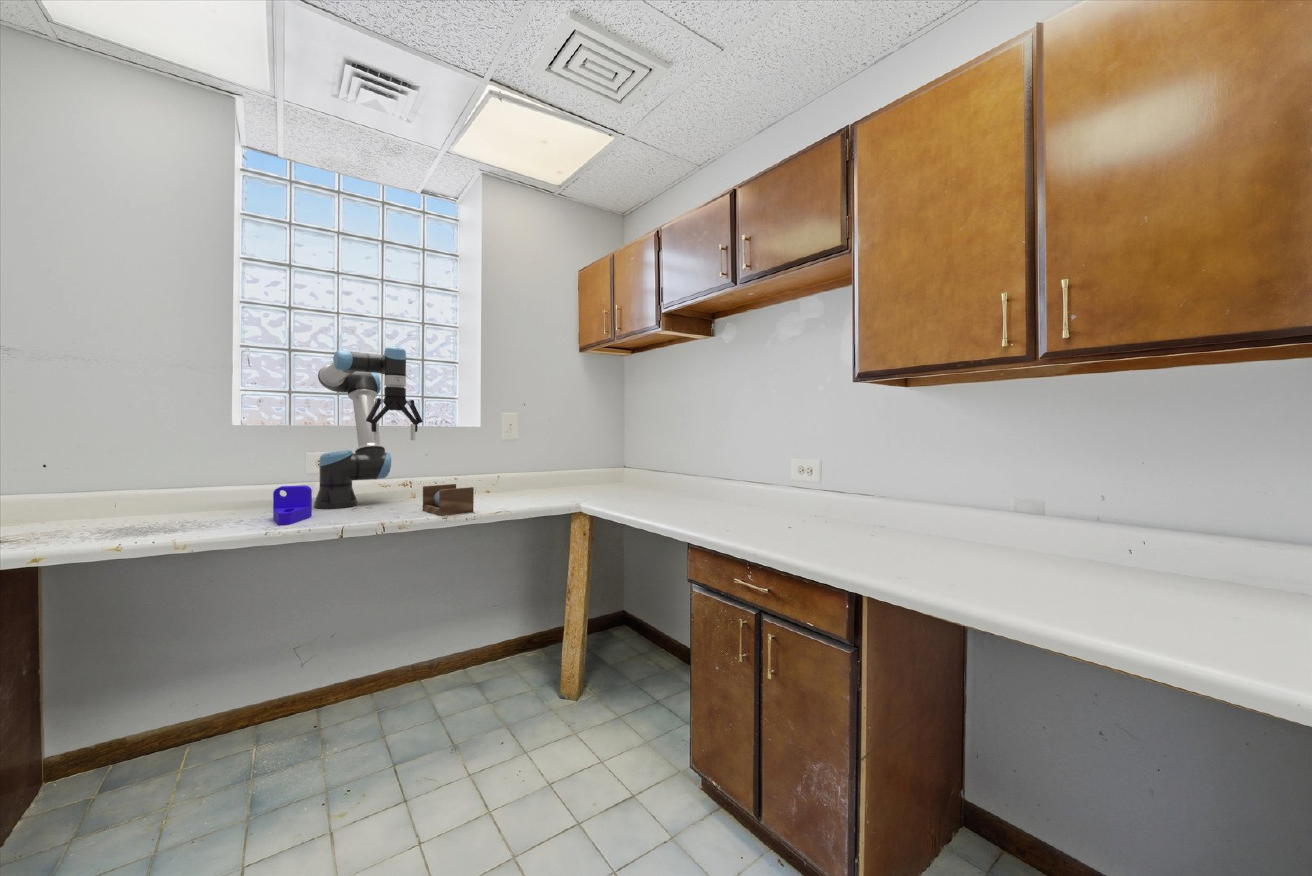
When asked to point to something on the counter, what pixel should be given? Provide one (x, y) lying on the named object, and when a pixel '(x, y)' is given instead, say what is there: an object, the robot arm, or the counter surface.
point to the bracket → (292, 504)
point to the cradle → (448, 499)
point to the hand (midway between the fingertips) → (395, 440)
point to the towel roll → (436, 499)
